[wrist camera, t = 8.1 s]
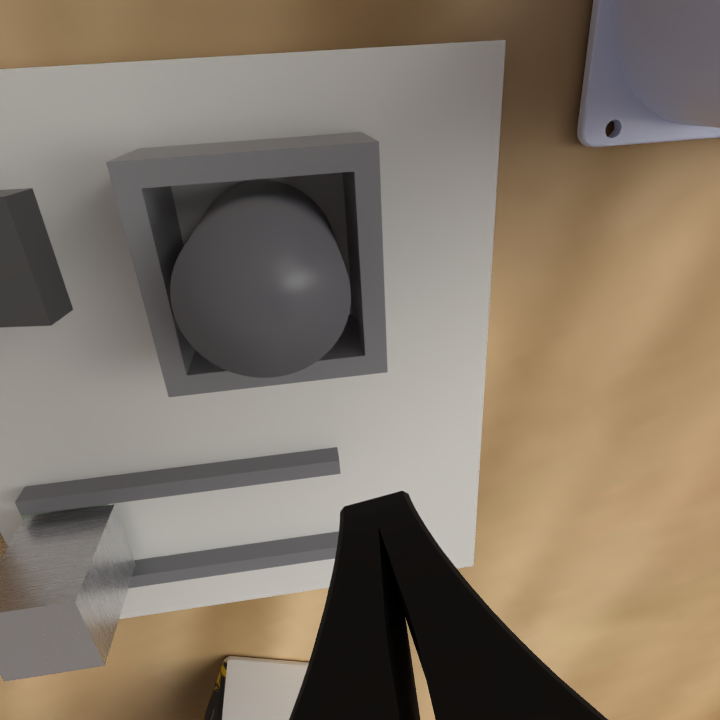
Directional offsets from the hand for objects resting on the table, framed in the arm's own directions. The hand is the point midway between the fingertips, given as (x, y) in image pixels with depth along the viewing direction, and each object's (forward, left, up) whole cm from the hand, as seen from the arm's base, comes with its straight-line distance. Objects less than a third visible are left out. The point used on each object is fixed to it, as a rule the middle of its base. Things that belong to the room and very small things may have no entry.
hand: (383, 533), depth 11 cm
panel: (+4, +1, -9) cm, 10 cm away
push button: (+2, -4, -7) cm, 9 cm away
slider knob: (+10, +6, -8) cm, 14 cm away
